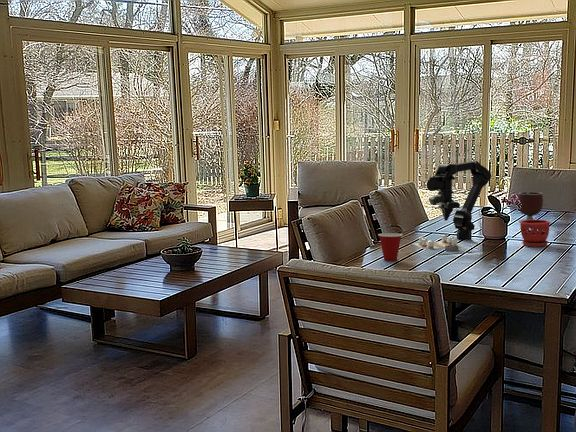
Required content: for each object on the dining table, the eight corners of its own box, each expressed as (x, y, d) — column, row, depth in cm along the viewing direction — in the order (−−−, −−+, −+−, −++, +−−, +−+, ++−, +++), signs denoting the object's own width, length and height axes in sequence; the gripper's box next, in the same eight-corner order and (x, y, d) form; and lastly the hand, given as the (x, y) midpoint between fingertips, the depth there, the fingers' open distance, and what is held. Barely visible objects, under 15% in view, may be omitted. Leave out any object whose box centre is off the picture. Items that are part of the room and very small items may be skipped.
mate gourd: (521, 219, 387) (521, 186, 384) (545, 221, 379) (545, 187, 376) (513, 223, 374) (513, 189, 371) (537, 224, 366) (538, 190, 363)
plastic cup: (404, 257, 293) (404, 231, 291) (400, 262, 283) (400, 236, 281) (380, 256, 296) (380, 231, 295) (376, 261, 286) (375, 235, 285)
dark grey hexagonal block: (454, 250, 304) (454, 244, 303) (461, 252, 298) (461, 247, 298) (441, 251, 302) (441, 246, 301) (448, 253, 296) (448, 248, 296)
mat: (461, 248, 308) (461, 248, 308) (471, 252, 298) (471, 252, 298) (426, 251, 304) (426, 250, 304) (435, 255, 295) (435, 254, 295)
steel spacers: (447, 241, 321) (447, 234, 320) (460, 246, 308) (460, 239, 307) (416, 243, 318) (416, 236, 317) (427, 248, 305) (427, 241, 304)
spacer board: (449, 243, 323) (449, 240, 322) (463, 248, 308) (463, 246, 308) (412, 245, 319) (412, 243, 319) (424, 251, 304) (424, 249, 304)
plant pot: (549, 243, 314) (550, 219, 312) (548, 248, 302) (548, 223, 300) (521, 242, 319) (521, 218, 318) (518, 247, 308) (519, 222, 306)
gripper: (423, 188, 323) (423, 218, 326) (438, 192, 305) (438, 224, 308) (443, 187, 326) (443, 217, 328) (460, 190, 307) (460, 222, 310)
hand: (445, 220), depth 318 cm, fingers closed
